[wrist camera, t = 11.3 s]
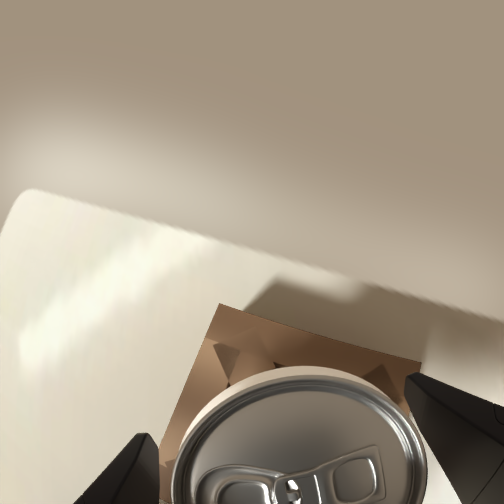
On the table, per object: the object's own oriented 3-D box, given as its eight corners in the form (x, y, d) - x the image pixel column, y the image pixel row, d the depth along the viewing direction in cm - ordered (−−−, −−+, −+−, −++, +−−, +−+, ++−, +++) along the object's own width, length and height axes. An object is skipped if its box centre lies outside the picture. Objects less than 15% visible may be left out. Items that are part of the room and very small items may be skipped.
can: (223, 396, 17) (131, 377, 6) (331, 375, 17) (413, 321, 6) (241, 495, 14) (185, 605, 3) (352, 473, 14) (450, 550, 3)
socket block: (336, 529, 13) (349, 553, 9) (167, 476, 15) (142, 489, 12) (395, 371, 17) (421, 362, 14) (230, 322, 20) (219, 303, 16)
